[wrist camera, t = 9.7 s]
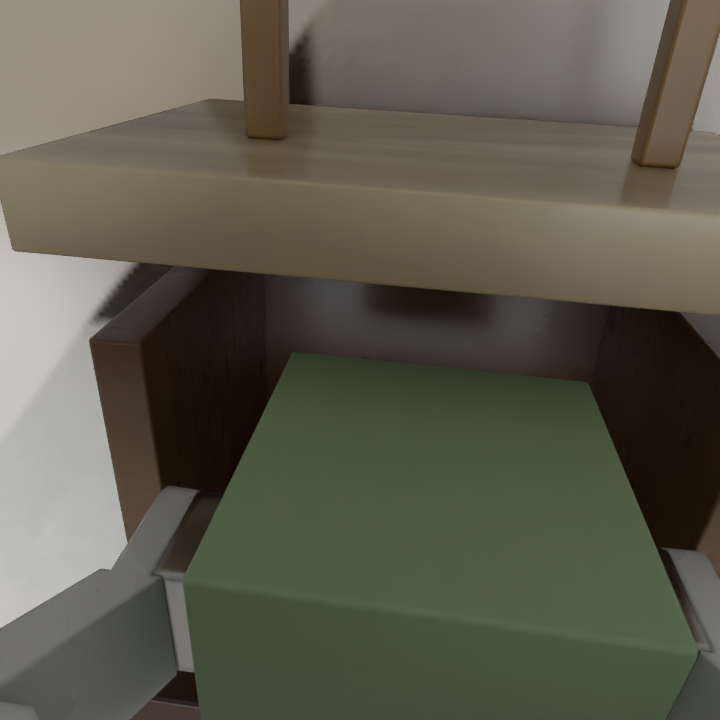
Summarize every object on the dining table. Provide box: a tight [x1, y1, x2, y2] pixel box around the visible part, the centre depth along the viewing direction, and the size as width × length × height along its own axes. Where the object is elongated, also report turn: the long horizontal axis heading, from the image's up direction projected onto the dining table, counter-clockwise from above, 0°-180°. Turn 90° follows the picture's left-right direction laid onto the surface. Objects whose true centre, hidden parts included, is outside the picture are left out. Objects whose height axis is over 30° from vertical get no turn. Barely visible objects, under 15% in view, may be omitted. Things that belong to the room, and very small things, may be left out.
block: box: [183, 352, 698, 720], centre depth 8 cm, size 4×4×4 cm
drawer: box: [0, 0, 720, 580], centre depth 13 cm, size 19×11×8 cm, turn 177°
